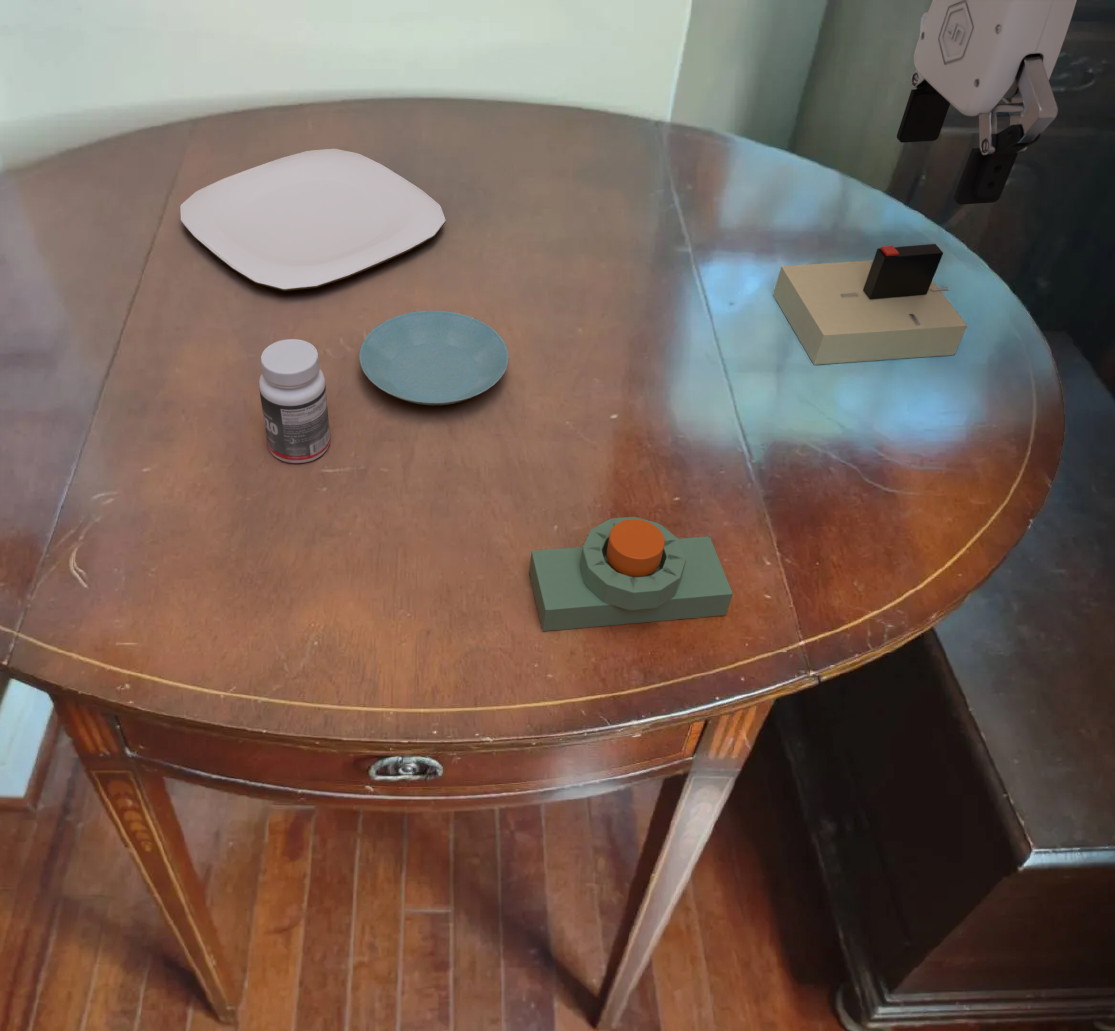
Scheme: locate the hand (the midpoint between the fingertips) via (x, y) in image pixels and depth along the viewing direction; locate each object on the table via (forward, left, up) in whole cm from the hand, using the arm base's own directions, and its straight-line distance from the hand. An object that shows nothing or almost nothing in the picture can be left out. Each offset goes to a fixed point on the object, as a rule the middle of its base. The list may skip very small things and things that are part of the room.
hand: (944, 169), depth 79 cm
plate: (+48, -22, -15) cm, 55 cm away
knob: (0, 0, -11) cm, 11 cm away
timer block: (+29, +26, -14) cm, 42 cm away
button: (+29, +26, -11) cm, 41 cm away
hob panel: (+2, -1, -14) cm, 14 cm away
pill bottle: (+50, +9, -15) cm, 53 cm away
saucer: (+39, +2, -15) cm, 42 cm away
